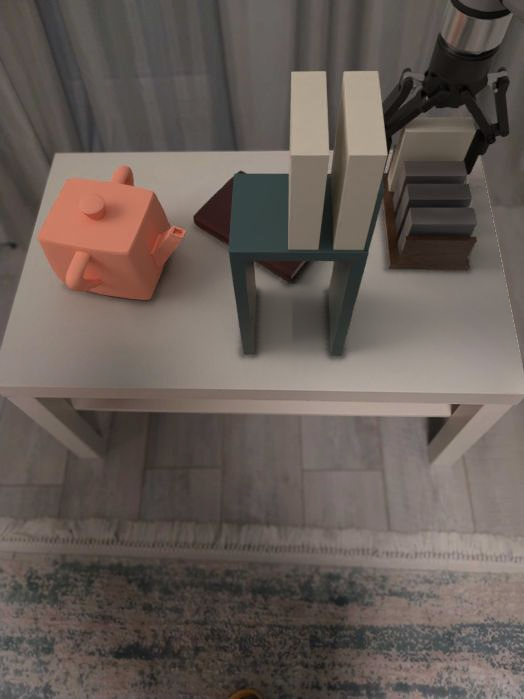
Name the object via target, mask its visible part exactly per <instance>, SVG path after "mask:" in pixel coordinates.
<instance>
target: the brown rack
mask: <svg viewBox="0 0 524 699" xmlns="http://www.w3.org/2000/svg"><path fill="white" fill-rule="evenodd" d="M396 145H397V144H394V145H393V149H392V152H391V156H390V160H389V164H388V168H387V171H386V172H384V175H383V185H384V195H383V199H382V203H381V204H382V211H383V222H384V232H385V242H386V251H387V260H388V261H387V262H388V269H389V270H468V269H469V268H470V260H469V256H470V254H471V253H472V251H473V249H474V248H475V246H476V244H477V242H478V237H477V236H472V235H473V233H474V232H475V229H476V227H477V225H478V222H477V217H476V216H477V215H476V212H475V208H474V207H470V204H471V202H472V201H473V197H472V191H471V187H470V183H466V180H467V178H468V175H467V171H466V166H465V162H464V161H404V163H403V166H402V170H401V173H400V176H399V180H398V183H397V187H396V190H395V192H389V187H388V175H389V171H390V167H391V164H392V160H393V156H394V152H395V149H396Z"/></svg>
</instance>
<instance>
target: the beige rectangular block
mask: <svg viewBox="0 0 524 699" xmlns="http://www.w3.org/2000/svg"><path fill="white" fill-rule="evenodd" d="M476 131H477V129H476V125H475V120H474V118H473V116H465V117H464V116H453V117H452V116H449V117H448V116H447V117H446V116H442V117H435V116H434V117H429V116H428V117H425V116H424V117H423V116H421V117H418V116H417V117H416V118H414V119H413V120H412V121H410V122H409V123H408V124H407V125H405V126H404V127H403V128H401V129H400V130H399V134H398V138H397V142H396V144H395V145H396V149H395V152H394V156H393V160H392V164H391V167H390V171H389V175H388V187H389V192H395V190H396V187H397V183H398V180H399V176H400V173H401V170H402V166H403V163H404V161H463V160H464V158H465V156H466V153H467V151H468V149H469V146H470V144H471V142H472V140H473V137H474V135H475V133H476Z"/></svg>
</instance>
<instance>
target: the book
mask: <svg viewBox="0 0 524 699" xmlns="http://www.w3.org/2000/svg"><path fill="white" fill-rule="evenodd" d="M235 174H248V173H247V172H245V171H244V170H238V172H236V173H235ZM233 181H234V175H233V176H231V177H230V178H229V179H228V180H227V181H226V182H225V183H224V184H223V185H222V186H221V188H220V189H218V190H217V191H216V192H215V193H214V194H213V195H212V196H211V197H210V198H209V199H208V200H207V201H206V202H205V203H204V204H203V205H201V207H200V208H199V209H198V210H197V211H196V212H195V214H194V215H193V217H192V219H193V223H194V224H195V226H196V227H198V228H200V229H201V230H203V231H205V232H207V233H208V234H210V235H211V236H213V237H215V238H216V239H218V240H220V241H221V242H224V243H225V244H227V245H228V246H229V236H230V222H231V209H232V195H233ZM255 263H257V264H259V265H260V266H262V267H264V268H266V269H267V270H269V271H270V272H272V273H273V274H274V275H275V276H278V277H279V278H281V279H282V280H284V281H285V282H287V283H292V282H293V281H294V280H296V278H297V277H298V276H299V274H300V273H301V272H302V271H303V270H304V268H305V267H306V266H307V264H309V263H310V261H255Z"/></svg>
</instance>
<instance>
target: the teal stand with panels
mask: <svg viewBox="0 0 524 699" xmlns="http://www.w3.org/2000/svg"><path fill="white" fill-rule="evenodd" d="M290 72H291V76H290V77H291V78H290V108H289V109H290V110H289V111H290V115H289V153H288V154H289V155H288V173H247V174H236V173H233V176H234V181H233V195H232V209H231V222H230V236H229V245H228V249H227V250H228V251H227V252H228V258H229V265H230V272H231V279H232V286H233V292H234V299H235V307H236V313H237V320H238V326H239V333H240V339H241V347H242V353H243V355H254V354H255V336H256V334H255V333H256V314H257V312H256V311H257V282H256V268H255V262H256V261H309V262H333V264H332V271H331V276H330V282H329V288H328V313H329V315H328V316H329V343H330V347H329V348H330V356H342V355H343V351H344V347H345V343H346V339H347V336H348V332H349V328H350V325H351V322H352V317H353V314H354V311H355V306H356V302H357V299H358V295H359V291H360V289H361V288H360V287H361V284H362V282H363V277H364V273H365V269H366V264H367V261H368V258H369V254H370V248H371V243H372V239H373V236H374V233H375V229H376V226H377V221H378V217H379V214H380V210H381V206H382V204H383V203H382V199H383V195H384V185H383V172H384V173H385V171H384V168H385V164H386V160H387V156H388V153H387V144H386V135H385V126H384V117H383V109H382V103H383V100H382V92H381V84H380V73H379V70H344V71H343V72H342V81H341V87H340V88H341V89H340V97H339V103H338V104H339V105H338V112H337V121H336V129H335V136H334V145H333V152H332V159H331V166H330V167H331V169H330V173H328V171H329V164H330V163H329V162H330V132H329V131H330V130H329V111H328V110H329V109H328V85H327V82H328V81H327V71H326V70H325V71H324V70H319V71H317V70H316V71H314V70H313V71H309V70H308V71H306V70H305V71H290ZM388 157H389V156H388ZM387 161H388V160H387ZM386 165H387V164H386ZM385 169H386V168H385Z"/></svg>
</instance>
